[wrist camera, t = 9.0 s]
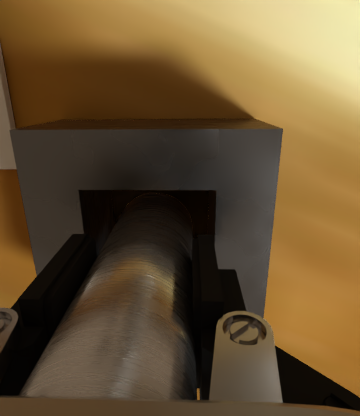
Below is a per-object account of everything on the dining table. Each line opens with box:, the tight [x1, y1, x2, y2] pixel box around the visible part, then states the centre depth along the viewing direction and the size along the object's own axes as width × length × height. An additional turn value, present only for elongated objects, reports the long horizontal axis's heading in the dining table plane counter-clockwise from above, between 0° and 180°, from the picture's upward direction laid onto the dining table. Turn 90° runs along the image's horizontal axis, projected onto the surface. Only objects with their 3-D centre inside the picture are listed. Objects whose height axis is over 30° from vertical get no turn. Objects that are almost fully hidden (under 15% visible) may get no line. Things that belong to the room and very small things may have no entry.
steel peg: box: [18, 192, 197, 400], centre depth 9 cm, size 5×5×13 cm
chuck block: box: [9, 119, 283, 318], centre depth 15 cm, size 10×10×5 cm
